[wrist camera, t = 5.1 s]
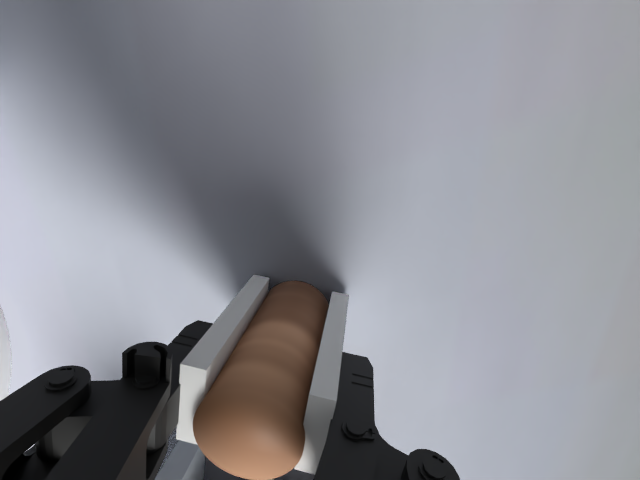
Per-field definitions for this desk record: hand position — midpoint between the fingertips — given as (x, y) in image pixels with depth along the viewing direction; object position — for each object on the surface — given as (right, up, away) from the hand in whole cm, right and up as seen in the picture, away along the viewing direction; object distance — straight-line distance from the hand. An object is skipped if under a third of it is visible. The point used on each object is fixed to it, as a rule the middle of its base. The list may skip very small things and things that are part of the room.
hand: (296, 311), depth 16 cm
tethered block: (-1, -7, +3) cm, 8 cm away
